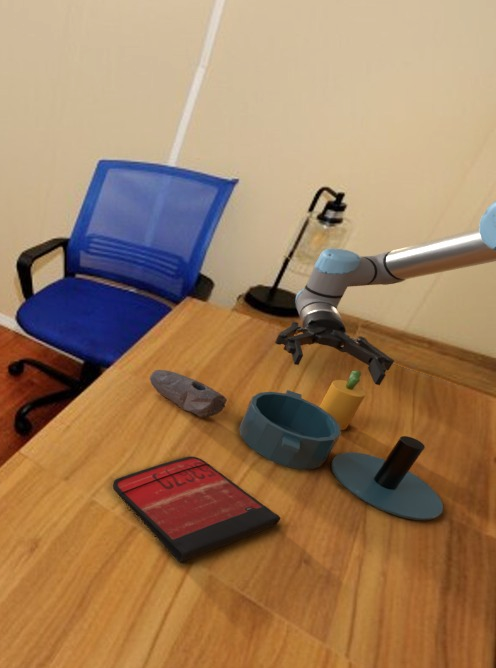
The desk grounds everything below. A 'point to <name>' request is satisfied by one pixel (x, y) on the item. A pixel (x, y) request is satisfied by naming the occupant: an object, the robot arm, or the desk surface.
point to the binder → (192, 506)
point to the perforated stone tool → (188, 393)
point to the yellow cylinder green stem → (343, 399)
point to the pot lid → (389, 481)
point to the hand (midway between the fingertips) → (338, 369)
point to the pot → (289, 430)
